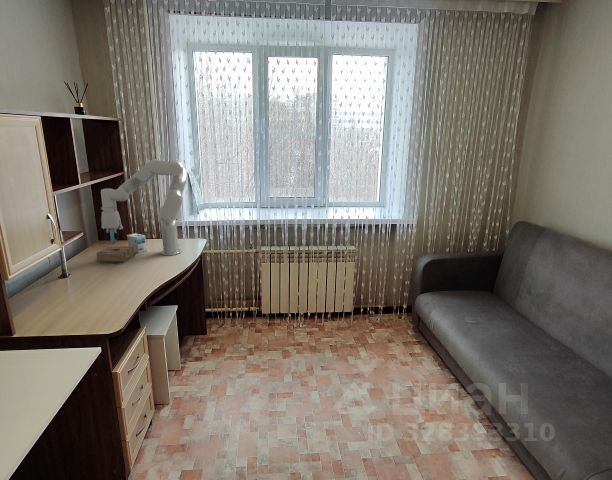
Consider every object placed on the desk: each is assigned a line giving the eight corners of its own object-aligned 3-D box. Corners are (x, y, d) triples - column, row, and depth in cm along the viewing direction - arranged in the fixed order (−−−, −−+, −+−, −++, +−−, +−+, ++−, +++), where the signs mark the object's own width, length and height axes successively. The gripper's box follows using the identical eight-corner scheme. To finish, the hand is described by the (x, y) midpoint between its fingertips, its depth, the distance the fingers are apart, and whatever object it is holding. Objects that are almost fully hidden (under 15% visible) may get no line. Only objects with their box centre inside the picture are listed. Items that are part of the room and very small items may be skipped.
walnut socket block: (111, 254, 256) (110, 245, 255) (135, 255, 255) (134, 246, 254) (97, 262, 241) (96, 253, 239) (123, 263, 240) (121, 254, 238)
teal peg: (110, 243, 243) (108, 227, 241) (112, 241, 246) (110, 226, 244) (115, 243, 243) (113, 227, 240) (117, 242, 246) (116, 226, 244)
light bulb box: (147, 250, 264) (145, 235, 261) (138, 253, 259) (136, 237, 256) (137, 248, 270) (135, 232, 266) (128, 250, 264) (126, 235, 261)
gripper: (93, 210, 236) (97, 240, 241) (120, 211, 235) (123, 240, 240) (100, 207, 243) (104, 236, 248) (126, 208, 242) (129, 237, 247)
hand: (113, 238), depth 244 cm, fingers closed on teal peg, 3 cm apart
